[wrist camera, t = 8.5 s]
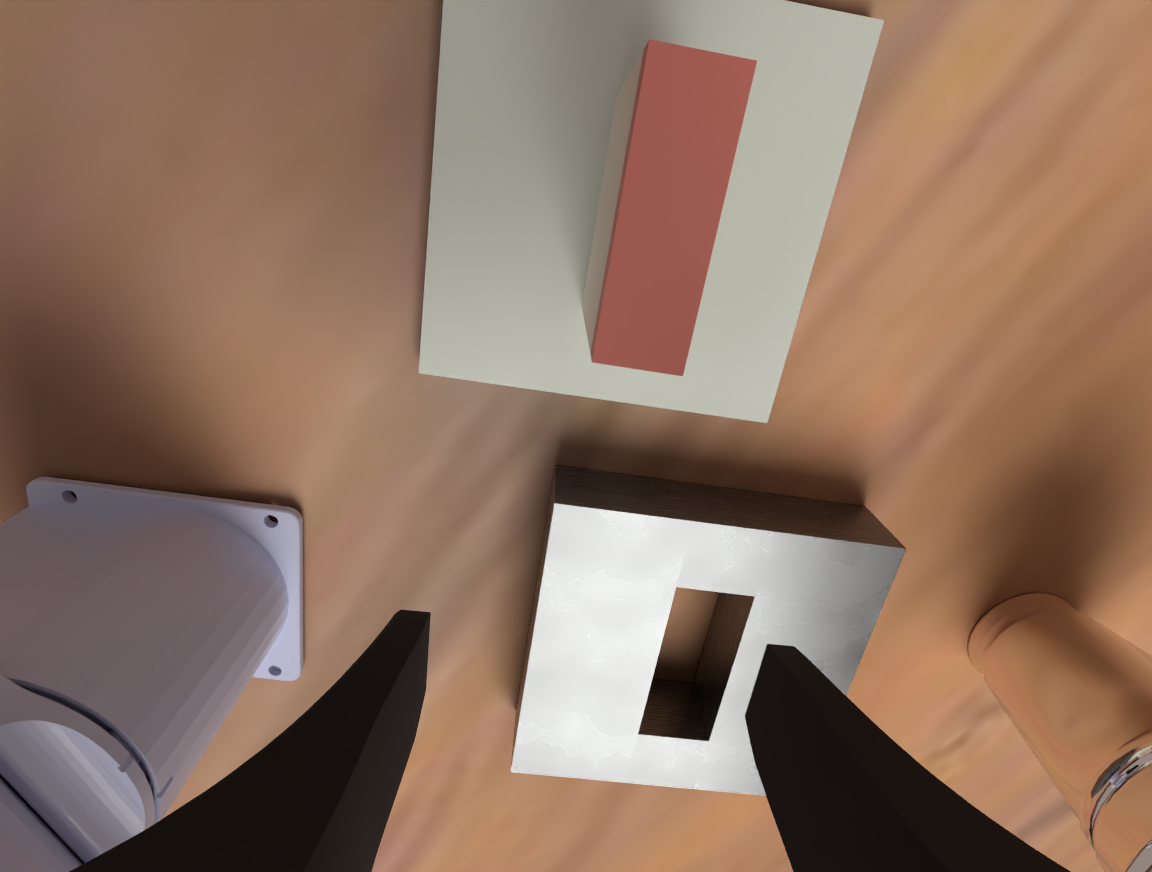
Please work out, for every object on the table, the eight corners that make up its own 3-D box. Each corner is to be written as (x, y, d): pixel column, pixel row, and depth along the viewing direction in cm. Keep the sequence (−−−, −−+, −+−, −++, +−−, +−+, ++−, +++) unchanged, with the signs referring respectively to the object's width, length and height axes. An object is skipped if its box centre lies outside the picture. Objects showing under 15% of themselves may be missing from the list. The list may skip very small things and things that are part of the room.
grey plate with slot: (515, 711, 27) (510, 771, 24) (555, 464, 23) (554, 503, 20) (778, 738, 28) (803, 799, 25) (865, 506, 23) (906, 548, 21)
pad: (423, 366, 21) (418, 372, 20) (452, -57, 17) (447, -68, 16) (760, 415, 22) (767, 423, 21) (870, 27, 18) (884, 20, 17)
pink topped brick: (581, 306, 20) (591, 362, 13) (616, 96, 17) (649, 39, 11) (642, 316, 20) (683, 376, 13) (684, 109, 18) (757, 60, 11)
